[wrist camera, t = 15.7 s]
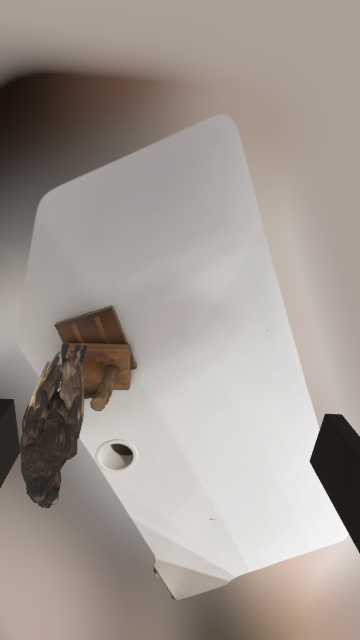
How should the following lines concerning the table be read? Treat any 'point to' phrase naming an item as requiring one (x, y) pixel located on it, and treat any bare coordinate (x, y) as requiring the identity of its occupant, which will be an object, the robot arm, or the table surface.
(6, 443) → the robot arm
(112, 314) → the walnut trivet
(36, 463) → the bird figurine
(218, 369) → the table surface
